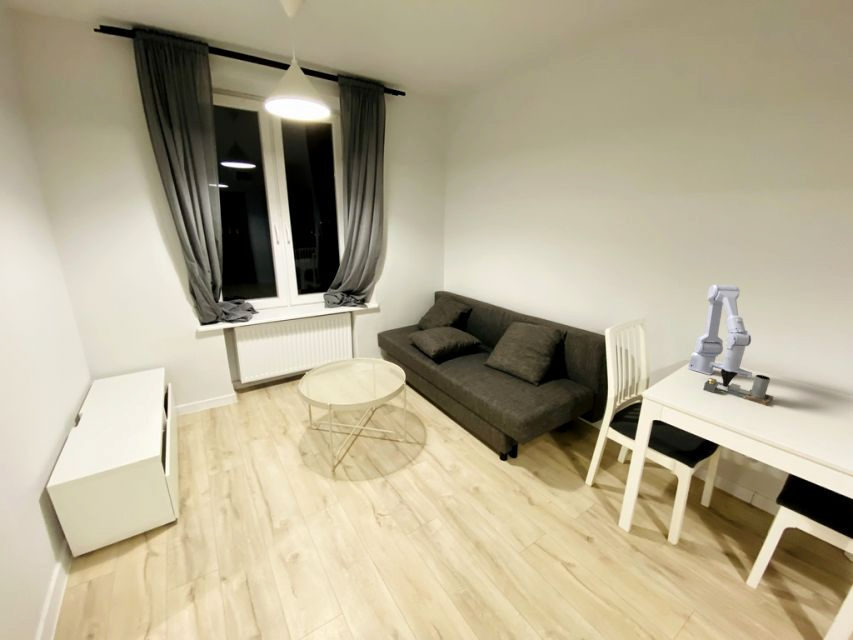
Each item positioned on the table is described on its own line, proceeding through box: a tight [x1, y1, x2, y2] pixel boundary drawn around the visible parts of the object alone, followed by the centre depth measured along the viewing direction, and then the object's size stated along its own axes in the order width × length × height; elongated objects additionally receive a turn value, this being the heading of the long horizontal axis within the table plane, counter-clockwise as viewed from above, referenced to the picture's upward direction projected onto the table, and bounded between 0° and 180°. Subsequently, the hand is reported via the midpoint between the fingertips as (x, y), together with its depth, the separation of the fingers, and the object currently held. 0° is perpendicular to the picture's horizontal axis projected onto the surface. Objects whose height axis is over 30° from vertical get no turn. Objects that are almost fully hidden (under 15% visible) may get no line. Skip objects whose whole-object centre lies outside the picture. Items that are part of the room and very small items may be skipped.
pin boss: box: [703, 380, 719, 394], centre depth 158 cm, size 4×5×4 cm
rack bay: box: [743, 389, 774, 407], centre depth 151 cm, size 7×8×2 cm
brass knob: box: [707, 377, 718, 385], centre depth 158 cm, size 3×3×5 cm
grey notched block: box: [727, 382, 751, 398], centre depth 156 cm, size 7×4×3 cm, turn 39°
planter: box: [750, 374, 771, 401], centre depth 150 cm, size 4×4×10 cm
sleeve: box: [715, 381, 745, 399], centre depth 159 cm, size 14×8×1 cm, turn 37°
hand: (725, 386), depth 159 cm, fingers closed
